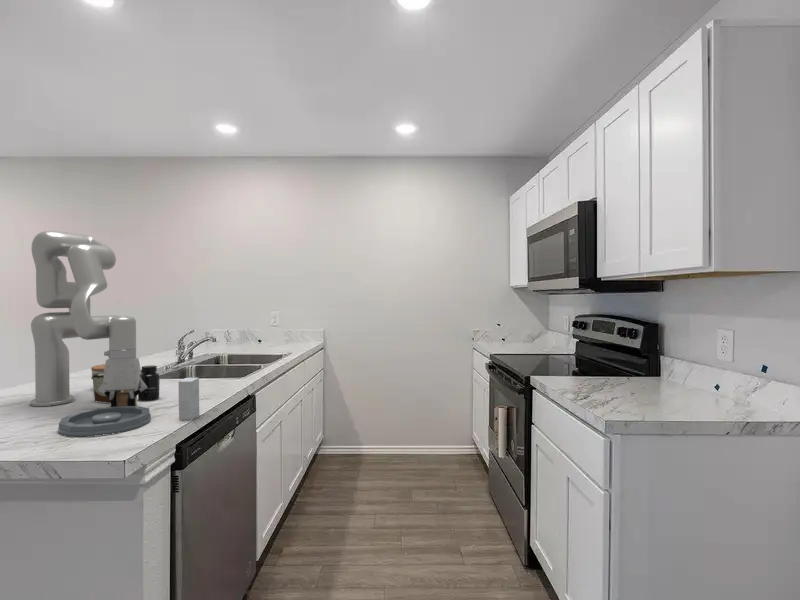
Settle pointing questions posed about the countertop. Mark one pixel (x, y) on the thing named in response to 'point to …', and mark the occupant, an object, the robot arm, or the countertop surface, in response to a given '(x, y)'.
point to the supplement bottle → (149, 383)
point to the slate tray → (92, 429)
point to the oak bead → (135, 397)
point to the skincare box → (188, 398)
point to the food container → (96, 385)
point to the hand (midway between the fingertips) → (123, 409)
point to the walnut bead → (122, 398)
